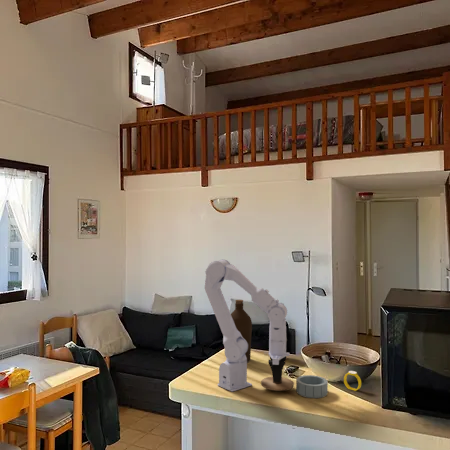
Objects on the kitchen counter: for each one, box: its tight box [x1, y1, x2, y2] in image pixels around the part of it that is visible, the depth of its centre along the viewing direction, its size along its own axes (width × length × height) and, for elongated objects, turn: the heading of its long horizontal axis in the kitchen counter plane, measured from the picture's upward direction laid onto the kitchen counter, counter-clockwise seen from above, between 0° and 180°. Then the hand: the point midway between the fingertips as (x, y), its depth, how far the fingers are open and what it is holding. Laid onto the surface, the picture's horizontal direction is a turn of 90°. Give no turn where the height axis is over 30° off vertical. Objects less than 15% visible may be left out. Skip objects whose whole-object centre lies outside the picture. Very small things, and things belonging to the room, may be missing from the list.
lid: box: [260, 373, 295, 392], centre depth 145 cm, size 11×11×4 cm
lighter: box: [321, 354, 331, 363], centre depth 156 cm, size 7×2×8 cm, turn 38°
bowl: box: [295, 374, 329, 399], centre depth 143 cm, size 10×10×4 cm
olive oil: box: [230, 299, 253, 363], centre depth 178 cm, size 11×11×25 cm
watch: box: [343, 370, 362, 392], centre depth 146 cm, size 6×3×6 cm, turn 43°
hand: (277, 379), depth 145 cm, fingers closed on lid, 3 cm apart
